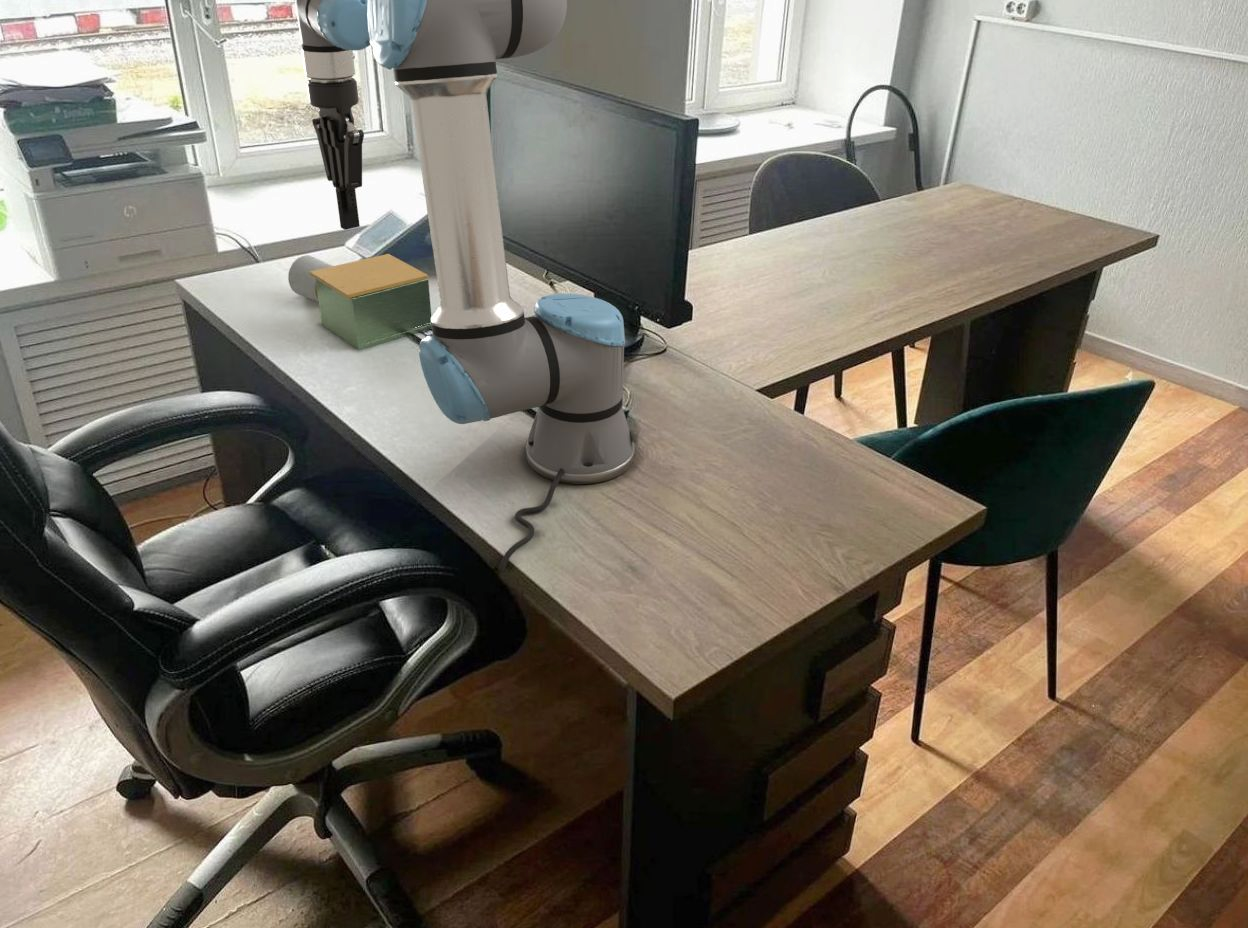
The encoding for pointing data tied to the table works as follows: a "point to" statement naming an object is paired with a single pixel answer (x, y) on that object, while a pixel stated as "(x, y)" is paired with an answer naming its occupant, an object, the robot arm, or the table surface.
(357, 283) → the lid
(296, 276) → the ceramic mug
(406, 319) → the tea tin
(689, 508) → the table surface
